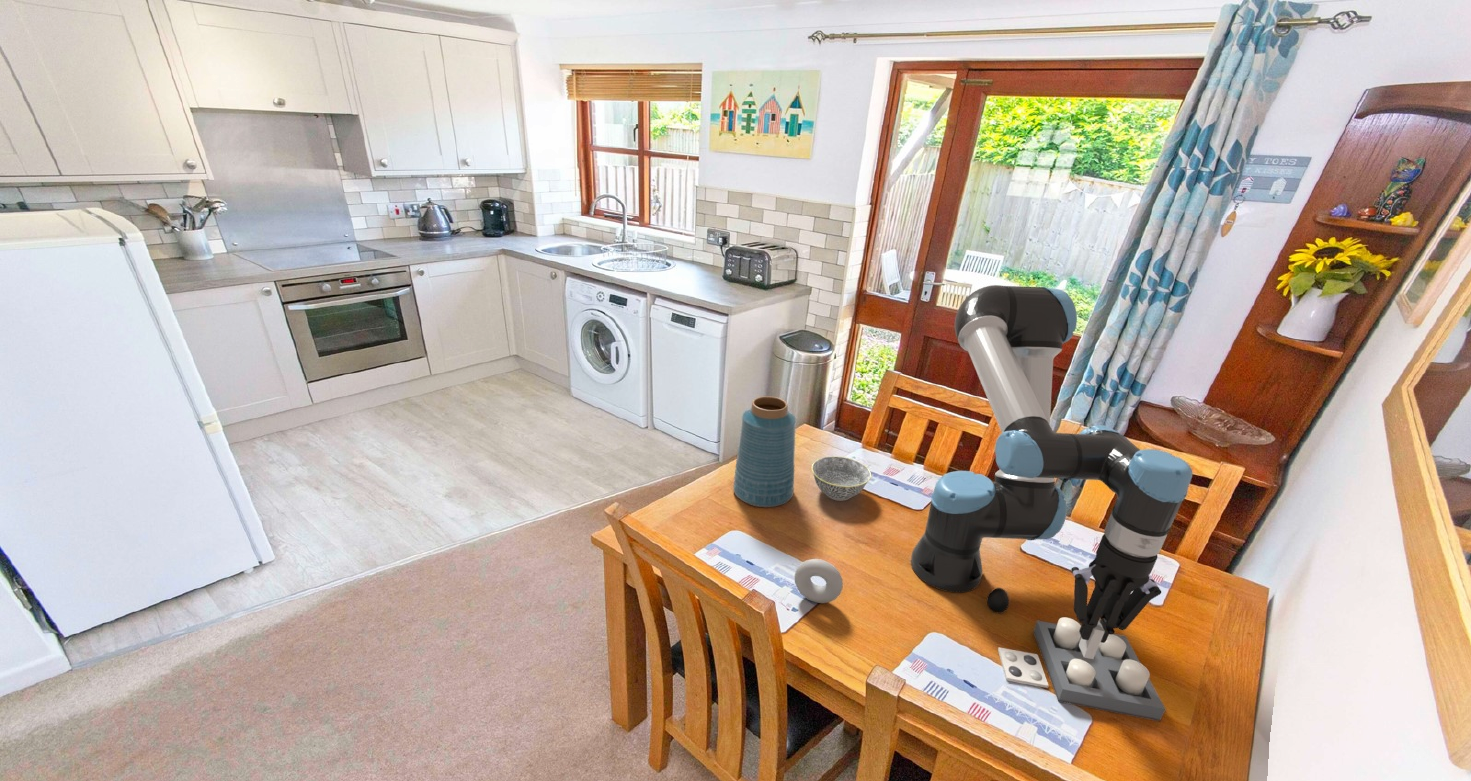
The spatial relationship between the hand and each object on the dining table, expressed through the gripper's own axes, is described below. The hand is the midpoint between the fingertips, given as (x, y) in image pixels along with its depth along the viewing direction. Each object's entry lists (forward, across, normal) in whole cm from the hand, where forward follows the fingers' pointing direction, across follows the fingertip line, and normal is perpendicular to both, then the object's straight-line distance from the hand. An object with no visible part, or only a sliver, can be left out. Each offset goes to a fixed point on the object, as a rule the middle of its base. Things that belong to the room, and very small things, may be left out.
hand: (1085, 651), depth 100 cm
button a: (+7, 0, -1) cm, 7 cm away
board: (+8, +4, +3) cm, 9 cm away
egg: (+9, -10, +16) cm, 21 cm away
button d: (+7, +8, +7) cm, 13 cm away
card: (+8, -8, +1) cm, 12 cm away
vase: (+9, -64, +46) cm, 79 cm away
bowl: (+9, -44, +51) cm, 68 cm away
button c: (+5, 0, +7) cm, 9 cm away
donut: (+8, -47, +9) cm, 49 cm away
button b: (+5, +8, -1) cm, 10 cm away
